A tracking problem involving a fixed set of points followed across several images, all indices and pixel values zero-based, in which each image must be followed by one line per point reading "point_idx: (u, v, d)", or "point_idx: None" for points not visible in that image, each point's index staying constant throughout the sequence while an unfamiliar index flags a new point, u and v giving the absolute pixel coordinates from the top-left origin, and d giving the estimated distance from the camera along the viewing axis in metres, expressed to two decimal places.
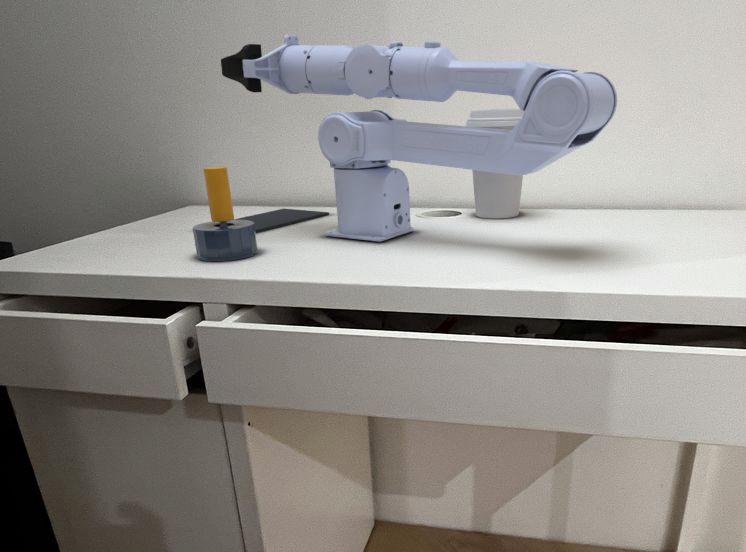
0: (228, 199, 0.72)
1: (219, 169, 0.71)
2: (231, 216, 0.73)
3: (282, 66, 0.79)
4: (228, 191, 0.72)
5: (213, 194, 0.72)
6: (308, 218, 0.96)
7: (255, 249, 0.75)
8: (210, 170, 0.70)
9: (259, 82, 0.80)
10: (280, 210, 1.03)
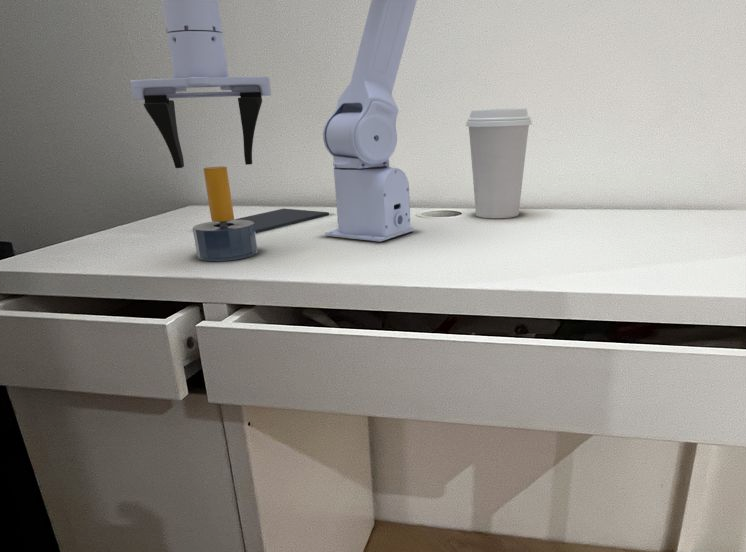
0: (228, 199, 0.72)
1: (219, 169, 0.71)
2: (231, 216, 0.73)
3: (227, 72, 0.68)
4: (228, 191, 0.72)
5: (213, 194, 0.72)
6: (308, 218, 0.96)
7: (255, 249, 0.75)
8: (210, 170, 0.70)
9: None
10: (280, 210, 1.03)
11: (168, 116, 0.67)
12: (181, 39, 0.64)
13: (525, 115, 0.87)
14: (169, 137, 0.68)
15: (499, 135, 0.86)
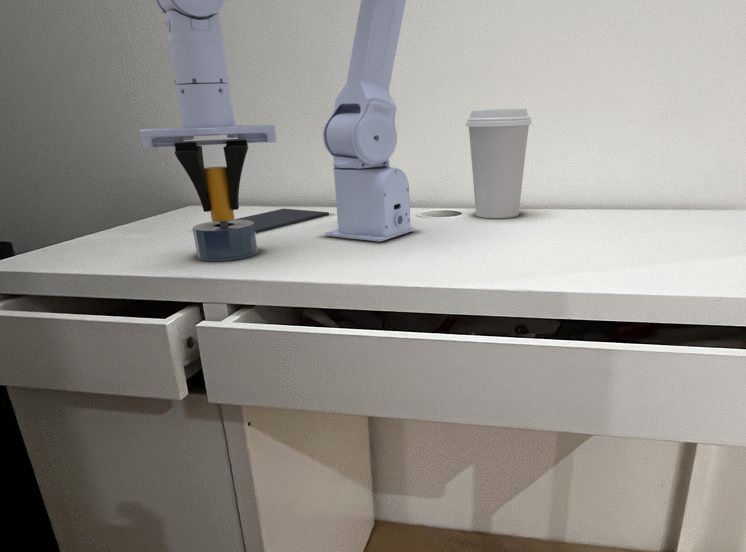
0: (228, 199, 0.72)
1: (219, 169, 0.71)
2: (231, 216, 0.73)
3: (233, 121, 0.70)
4: (228, 191, 0.72)
5: (213, 194, 0.72)
6: (308, 218, 0.96)
7: (255, 249, 0.75)
8: (210, 170, 0.70)
9: None
10: (280, 210, 1.03)
11: (198, 163, 0.69)
12: (189, 91, 0.66)
13: (525, 115, 0.87)
14: (198, 183, 0.70)
15: (499, 135, 0.86)
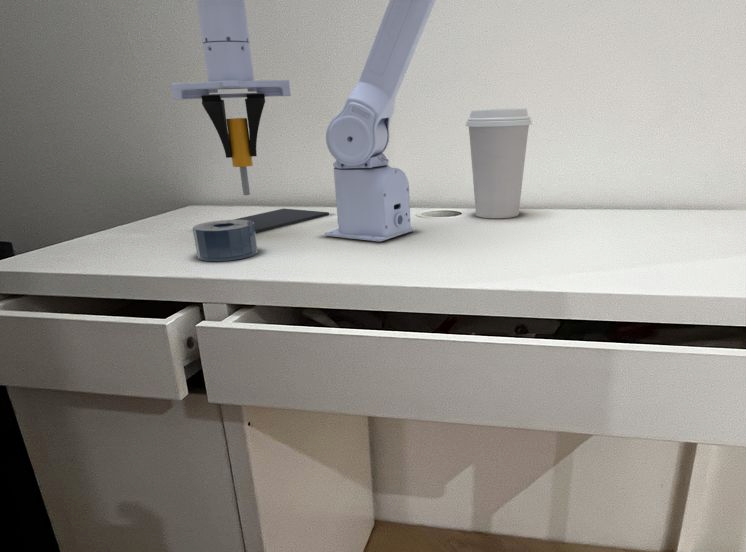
0: (248, 147, 0.82)
1: (240, 119, 0.80)
2: (250, 162, 0.83)
3: (253, 76, 0.80)
4: (248, 139, 0.82)
5: (235, 142, 0.81)
6: (308, 218, 0.96)
7: (255, 249, 0.75)
8: (232, 120, 0.80)
9: None
10: (280, 210, 1.03)
11: (222, 113, 0.79)
12: (216, 48, 0.76)
13: (525, 115, 0.87)
14: (222, 131, 0.80)
15: (499, 135, 0.86)
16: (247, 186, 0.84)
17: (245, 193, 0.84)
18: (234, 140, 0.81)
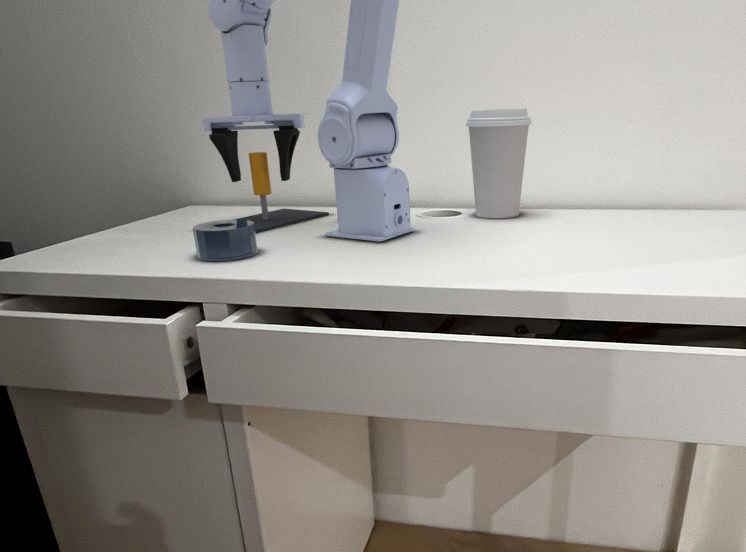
0: (265, 178, 0.92)
1: (258, 154, 0.91)
2: (268, 192, 0.93)
3: (270, 110, 0.89)
4: (266, 171, 0.92)
5: (253, 174, 0.92)
6: (308, 218, 0.96)
7: (255, 249, 0.75)
8: (252, 154, 0.91)
9: None
10: (280, 210, 1.03)
11: (225, 144, 0.90)
12: (234, 88, 0.86)
13: (525, 115, 0.87)
14: (226, 159, 0.91)
15: (499, 135, 0.86)
16: (265, 212, 0.95)
17: (264, 218, 0.95)
18: (253, 172, 0.92)
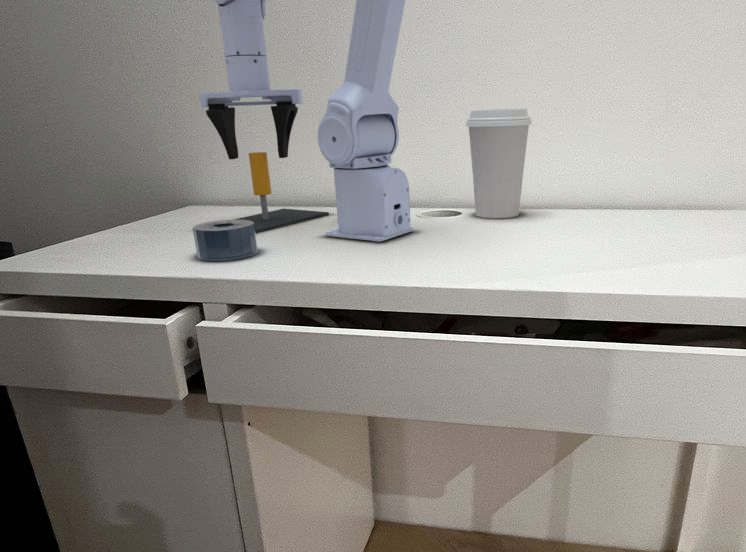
0: (265, 178, 0.92)
1: (258, 154, 0.91)
2: (268, 192, 0.93)
3: (268, 86, 0.88)
4: (266, 171, 0.92)
5: (253, 174, 0.92)
6: (308, 218, 0.96)
7: (255, 249, 0.75)
8: (252, 154, 0.91)
9: None
10: (280, 210, 1.03)
11: (222, 120, 0.88)
12: (231, 62, 0.85)
13: (525, 115, 0.87)
14: (223, 136, 0.90)
15: (499, 135, 0.86)
16: (265, 212, 0.95)
17: (264, 218, 0.95)
18: (253, 172, 0.92)
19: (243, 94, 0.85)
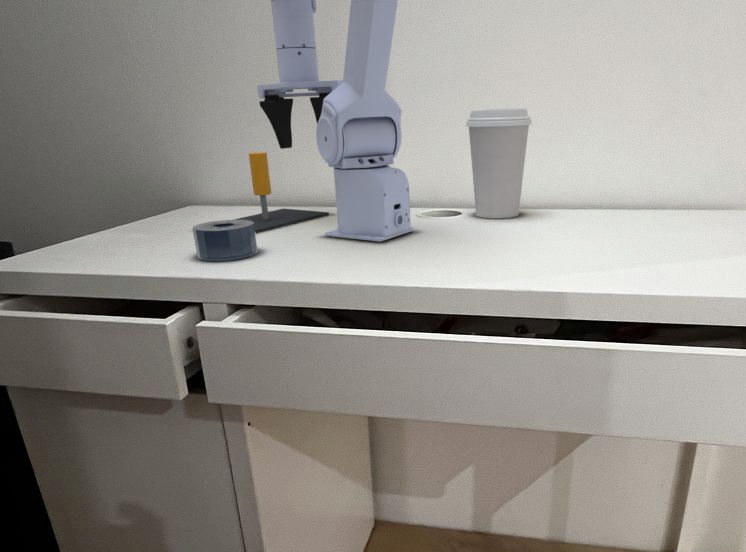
0: (265, 178, 0.92)
1: (258, 154, 0.91)
2: (268, 192, 0.93)
3: (313, 77, 0.90)
4: (266, 171, 0.92)
5: (253, 174, 0.92)
6: (308, 218, 0.96)
7: (255, 249, 0.75)
8: (252, 154, 0.91)
9: None
10: (280, 210, 1.03)
11: (272, 110, 0.93)
12: (279, 54, 0.88)
13: (525, 115, 0.87)
14: (275, 125, 0.94)
15: (499, 135, 0.86)
16: (265, 212, 0.95)
17: (264, 218, 0.95)
18: (253, 172, 0.92)
19: (284, 86, 0.88)
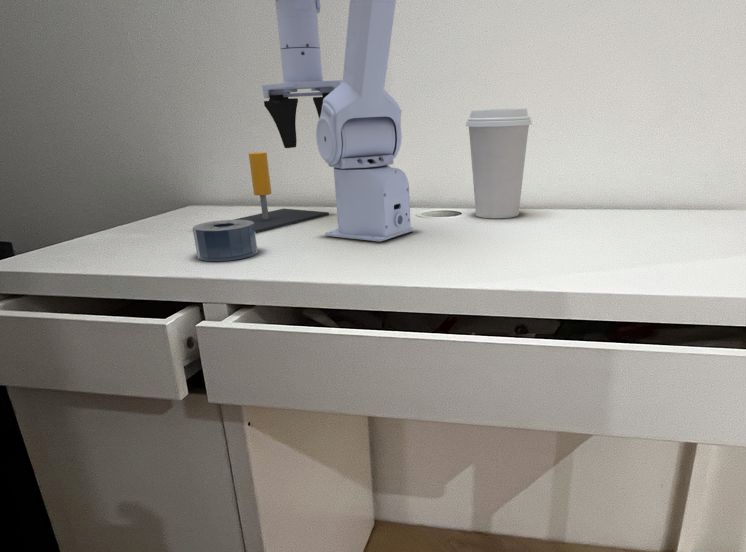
0: (265, 178, 0.92)
1: (258, 154, 0.91)
2: (268, 192, 0.93)
3: (316, 77, 0.90)
4: (266, 171, 0.92)
5: (253, 174, 0.92)
6: (308, 218, 0.96)
7: (255, 249, 0.75)
8: (252, 154, 0.91)
9: None
10: (280, 210, 1.03)
11: (276, 110, 0.93)
12: (282, 54, 0.89)
13: (525, 115, 0.87)
14: (279, 125, 0.94)
15: (499, 135, 0.86)
16: (265, 212, 0.95)
17: (264, 218, 0.95)
18: (253, 172, 0.92)
19: (288, 85, 0.88)
